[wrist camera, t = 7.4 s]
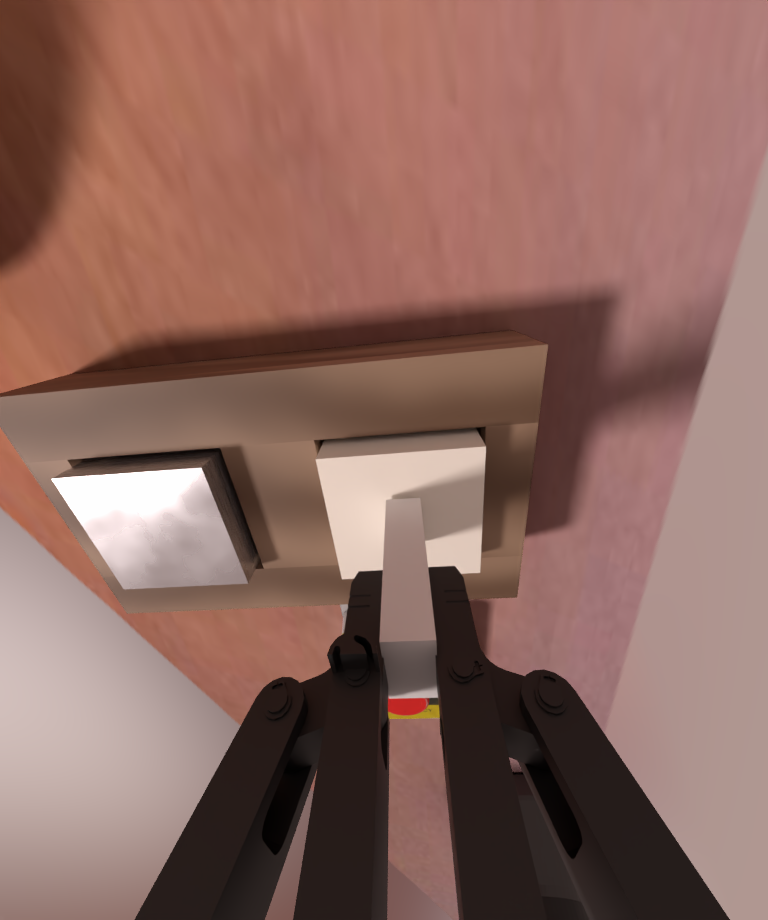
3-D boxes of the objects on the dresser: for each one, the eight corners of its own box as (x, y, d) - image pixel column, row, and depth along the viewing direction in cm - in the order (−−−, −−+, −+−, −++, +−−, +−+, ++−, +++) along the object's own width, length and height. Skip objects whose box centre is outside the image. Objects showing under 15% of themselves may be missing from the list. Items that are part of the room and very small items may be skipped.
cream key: (467, 528, 20) (480, 572, 17) (349, 535, 20) (341, 579, 17) (469, 416, 16) (485, 446, 13) (329, 428, 17) (315, 459, 14)
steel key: (269, 539, 21) (248, 583, 18) (162, 545, 21) (123, 589, 18) (235, 435, 17) (201, 467, 14) (109, 446, 18) (51, 478, 15)
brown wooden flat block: (496, 543, 23) (517, 597, 19) (169, 560, 25) (127, 613, 21) (511, 329, 17) (548, 344, 13) (70, 374, 19) (-20, 398, 15)
